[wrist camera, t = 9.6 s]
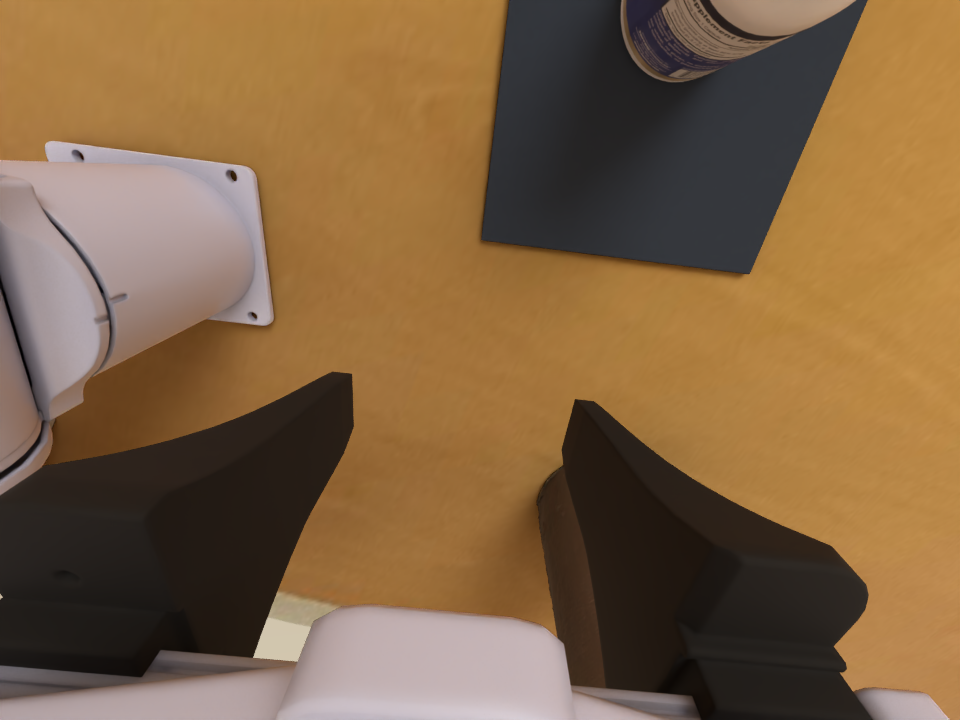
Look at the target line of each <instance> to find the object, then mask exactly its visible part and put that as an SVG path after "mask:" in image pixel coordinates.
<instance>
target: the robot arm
mask: <svg viewBox="0 0 960 720" xmlns="http://www.w3.org/2000/svg"><path fill="white" fill-rule="evenodd" d="M45 152H46V155H47V158H48V161H49V162H46V161H13V160H0V594H1V595H2V596H3V598H1V600H0V720H949V719H948V717H947V716H946V715H945V714H944V713H943V711H942V710H941V709H940V708H939V707H938V706H937V704H936V703H935V702H934V701H933V700H932V698H931V697H930V696H929V695H928V694H925V693H923V692H920V691H909V690H898V689H887V688H876V687H872V688H863V689H859V690H856V691H854V692H853V691H852V690H851V688H850V687H849V685H848V684H847V683H846V681H845V680H844V678H843V677H842V676H841V674H840V673H839V672H844V671H845V670H846V669H847V667H846V663H845V661H844V660H843V659H842V657H841V656H840V655H839V653H838V652H837V651H836V649H835V648H834V645H835V644H836V643H837V642H838V641H839V640H840V639H841V638H842V637H843V636H844V634H845V633H846V632H847V631H848V630H849V629H850V628H851V627H852V626H853V625H854V624H855V623H856V621H857V620H858V619H859V618H860V616H861V615H862V613H863V612H864V611H865V608H866V604H867V600H868V595H869V594H868V590H867V586H866V584H865V583H864V582H863V580H862V579H861V578H860V577H859V576H858V575H857V574H856V573H855V572H854V570H853V569H852V568H851V567H850V566H849V565H848V564H847V563H846V562H845V560H844V559H843V558H842V557H841V556H840V555H839V554H838V553H837V552H836V550H835V549H834V548H833V547H832V546H830V545H828V544H825V543H823V542H820V541H818V540H816V539H813V538H811V537H808V536H806V535H804V534H801V533H799V532H796V531H794V530H792V529H789V528H787V527H784V526H782V525H780V524H777V523H775V522H773V521H771V520H769V519H767V518H765V517H762V516H760V515H758V514H756V513H754V512H752V511H750V510H748V509H746V508H744V507H742V506H740V505H738V504H736V503H734V502H732V501H730V500H728V499H727V498H725V497H723V496H721V495H720V494H718V493H716V492H714V491H712V490H711V489H709V488H707V487H705V486H704V485H702V484H700V483H699V482H697V481H696V480H694V479H692V478H691V477H689V476H688V475H686V474H685V473H683V472H682V471H680V470H679V469H677V468H676V467H674V466H673V465H671V464H670V463H668V462H667V461H666V460H664V459H663V458H662V457H660V456H659V455H658V454H656V453H655V452H654V451H652V450H651V449H650V448H649V447H647V446H646V445H645V444H644V443H642V442H641V441H640V440H639V439H637V438H636V437H635V436H634V435H633V434H632V433H630V432H629V431H628V430H627V429H626V428H625V427H623V426H622V425H621V424H620V423H619V422H618V421H617V420H615V419H614V418H613V417H612V416H611V415H610V414H609V413H608V412H606V411H605V410H604V409H603V408H602V407H601V406H599V405H598V404H597V403H595V402H594V401H586V400H577V399H575V402H574V405H573V409H572V413H571V417H570V420H569V424H568V428H567V432H566V435H565V439H564V443H563V446H562V456H563V464H564V471H565V477H566V481H567V485H568V488H569V492H570V495H571V499H572V502H573V506H574V509H575V513H576V516H577V520H578V523H579V527H580V530H581V534H582V537H583V541H584V545H585V549H586V554H587V559H588V565H589V571H590V576H591V582H592V588H593V595H594V601H595V608H596V614H597V621H598V628H599V636H600V644H601V652H602V659H603V668H604V677H605V686H606V689H605V688H594V687H582V686H571V685H570V679H569V673H568V667H567V660H566V654H565V648H564V644H563V643H562V642H561V641H560V640H559V639H558V638H556V637H555V636H554V635H553V634H552V633H551V632H549V631H548V630H547V629H546V628H545V627H543V626H542V625H541V624H538V623H534V622H530V621H526V620H523V619H519V618H515V617H508V616H497V615H486V614H476V613H465V612H454V611H443V610H432V609H422V608H411V607H400V606H389V605H378V604H362V605H348V606H341V607H339V608H337V609H335V610H333V611H331V612H330V613H328V614H326V615H324V616H322V617H320V618H318V619H317V620H315V621H313V624H312V626H311V629H310V632H309V634H308V637H307V639H306V642H305V644H304V647H303V649H302V652H301V654H300V657H299V660H298V662H294V661H283V660H270V659H259V658H253V656H254V653H255V650H256V647H257V645H258V642H259V639H260V636H261V633H262V630H263V628H264V625H265V622H266V619H267V617H268V614H269V612H270V609H271V606H272V604H273V601H274V599H275V596H276V593H277V591H278V588H279V586H280V583H281V581H282V578H283V576H284V573H285V571H286V568H287V566H288V563H289V561H290V558H291V556H292V553H293V551H294V549H295V546H296V544H297V542H298V539H299V537H300V535H301V532H302V530H303V528H304V525H305V523H306V521H307V519H308V517H309V515H310V513H311V511H312V510H313V508H314V506H315V504H316V502H317V501H318V499H319V497H320V495H321V493H322V492H323V490H324V488H325V486H326V484H327V483H328V481H329V479H330V477H331V476H332V474H333V472H334V470H335V468H336V466H337V465H338V463H339V461H340V459H341V457H342V455H343V453H344V451H345V449H346V446H347V444H348V441H349V438H350V436H351V433H352V430H353V427H354V420H353V388H352V374H348V373H339V372H331V373H329V374H327V375H325V376H323V377H321V378H319V379H317V380H315V381H313V382H311V383H309V384H307V385H305V386H304V387H302V388H300V389H298V390H296V391H294V392H292V393H290V394H288V395H286V396H285V397H283V398H280V399H278V400H276V401H274V402H272V403H270V404H268V405H266V406H264V407H261V408H259V409H257V410H255V411H253V412H251V413H248V414H246V415H243V416H241V417H239V418H236V419H233V420H231V421H228V422H225V423H223V424H220V425H217V426H214V427H212V428H209V429H205V430H202V431H199V432H196V433H192V434H189V435H186V436H183V437H179V438H176V439H173V440H169V441H165V442H161V443H158V444H154V445H150V446H146V447H141V448H137V449H133V450H128V451H124V452H119V453H114V454H109V455H104V456H99V457H93V458H87V459H82V460H76V461H70V462H65V463H59V464H53V465H46V466H43V464H44V463H45V461H46V459H47V458H48V456H49V454H50V451H51V448H52V444H53V436H52V430H51V427H50V424H49V421H51V420H52V419H54V418H56V417H58V416H60V415H61V414H63V413H65V412H67V411H68V410H70V409H72V408H74V407H76V406H77V405H79V404H81V403H83V402H84V397H83V389H84V385H85V383H86V381H87V380H88V379H89V378H91V377H93V376H95V375H97V374H99V373H101V372H103V371H105V370H107V369H109V368H111V367H113V366H115V365H117V364H119V363H121V362H123V361H125V360H127V359H129V358H131V357H133V356H134V355H136V354H138V353H140V352H142V351H144V350H146V349H148V348H150V347H152V346H154V345H156V344H158V343H160V342H162V341H164V340H166V339H168V338H170V337H172V336H174V335H176V334H178V333H180V332H182V331H183V330H185V329H187V328H189V327H191V326H193V325H195V324H197V323H199V322H201V321H203V320H205V319H209V320H218V321H226V322H235V323H244V324H252V325H261V326H267V325H269V324H270V323H272V322H273V320H274V313H273V305H272V297H271V288H270V280H269V272H268V264H267V256H266V248H265V240H264V232H263V224H262V216H261V208H260V200H259V192H258V183H257V177H256V174H255V173H254V171H253V170H252V169H251V168H249V167H247V166H242V165H235V164H227V163H219V162H212V161H204V160H196V159H189V158H181V157H174V156H166V155H158V154H151V153H143V152H135V151H128V150H120V149H113V148H105V147H97V146H90V145H82V144H74V143H67V142H59V141H48V142H47V143H46V145H45ZM80 152H81V153H82V155H83V156H84V161H83V160H82V158H81V157H80ZM232 171H234V172H235V173H236V175H237V180H236V181H234V180H233V179H232V178H231V172H232ZM252 312H253V313H255V314H256V315H257V319H256V318H254V317H253V316H252V314H251V313H252ZM42 466H43V467H42ZM41 467H42V468H41Z"/></svg>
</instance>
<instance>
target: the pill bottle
mask: <svg viewBox="0 0 960 720" xmlns="http://www.w3.org/2000/svg"><path fill="white" fill-rule="evenodd" d="M854 1H856V0H622V1H621V27H622V33H623V38H624V41H625V44H626V47H627V49H628V51H629V53H630V55H631V57H632V59H633V60H634V61H635V63H636V64H637V65H638V66H639V67H640V68H641V69H642V70H643V71H644V72H646V73H647V74H648V75H650V76H652V77H654V78H656V79H659V80H662V81H667V82H684V81H689V80H693V79H696V78H699V77H702V76H704V75H707V74H709V73H712V72H714V71H716V70H718V69H720V68H723V67H725V66H727V65H729V64H731V63H734V62H736V61H738V60H740V59H743V58H745V57H747V56H749V55H751V54H754V53H756V52H758V51H760V50H762V49H764V48H767V47H769V46H771V45H773V44H775V43H777V42H780V41H782V40H784V39H786V38H789V37H790V36H793V35H795V34H797V33H799V32H802V31H805V30H807V29H809V28H810V27H812V26H814V25H816V24H818V23H820V22H822V21H824V20H826V19H828V18H829V17H831V16H833V15H835V14H837V13H838V12H840V11H841V10H843V9H845V8H846V7H848V6H849V5H850V4H852V3H853V2H854Z"/></svg>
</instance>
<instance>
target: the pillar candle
mask: <svg viewBox="0 0 960 720" xmlns="http://www.w3.org/2000/svg"><path fill="white" fill-rule="evenodd" d="M537 506H538V511H539V525H540V533H541V540H542V545H543V549H544V558H545V564H546V571H547V575H548V583H549V590H550V595H551V598H552V604H553V611H554V618H555V624H556V630H557V636H558V639H559V640H560V641H561V642H562V643H563V644H564V648H565V654H566V660H567V667H568V673H569V679H570V685H571V686H582V687H594V688H605V689H606V686H605V677H604V668H603V659H602V652H601V644H600V636H599V628H598V621H597V614H596V608H595V601H594V595H593V588H592V582H591V576H590V571H589V565H588V559H587V554H586V549H585V545H584V541H583V537H582V534H581V530H580V527H579V523H578V520H577V516H576V513H575V509H574V506H573V502H572V499H571V495H570V492H569V488H568V485H567V481H566V477H565V471H564V466H563V467H560V469H559V470H557V471H556V472H555V473H553V475H552V476H551V477H550V478H549V479H548V480H547V481H546V483H545V485H544V486H543V487H542V490H541V492H540V493H539V496H538V500H537Z"/></svg>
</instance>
